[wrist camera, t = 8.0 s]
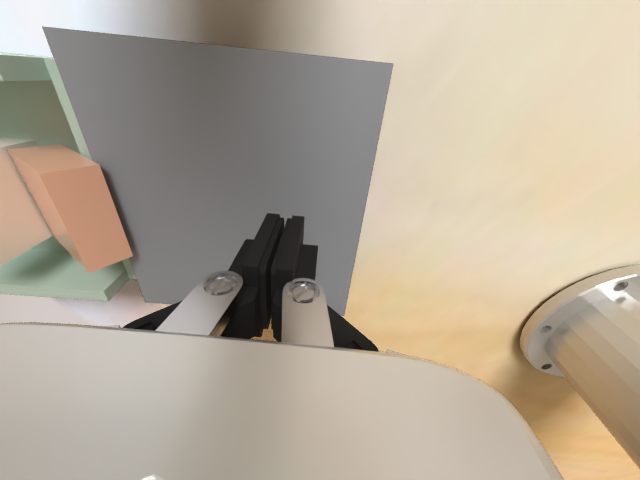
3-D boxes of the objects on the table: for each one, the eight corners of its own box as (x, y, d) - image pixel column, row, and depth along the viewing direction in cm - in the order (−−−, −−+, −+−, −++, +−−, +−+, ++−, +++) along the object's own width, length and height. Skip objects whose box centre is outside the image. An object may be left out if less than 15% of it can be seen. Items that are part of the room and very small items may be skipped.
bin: (98, 62, 13) (-17, 54, 8) (158, 261, 19) (110, 315, 15) (-100, 42, 12) (-325, 23, 8) (29, 252, 19) (-58, 304, 14)
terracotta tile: (99, 164, 12) (39, 173, 10) (133, 256, 14) (88, 273, 13) (60, 143, 14) (7, 149, 13) (95, 225, 17) (54, 237, 15)
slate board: (378, 66, 13) (393, 63, 10) (341, 285, 20) (344, 315, 17) (101, 37, 12) (42, 26, 10) (168, 272, 19) (145, 302, 17)
